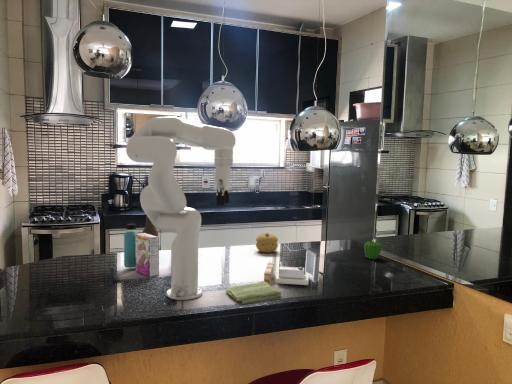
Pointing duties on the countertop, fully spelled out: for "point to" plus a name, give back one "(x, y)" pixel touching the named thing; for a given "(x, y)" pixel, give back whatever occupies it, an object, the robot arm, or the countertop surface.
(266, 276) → the rail
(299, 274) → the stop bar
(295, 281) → the bracket
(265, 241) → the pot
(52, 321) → the countertop surface
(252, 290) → the washcloth
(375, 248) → the bell pepper
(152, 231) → the beer bottle
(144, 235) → the candy bar box
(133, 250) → the beverage bottle
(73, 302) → the countertop surface
